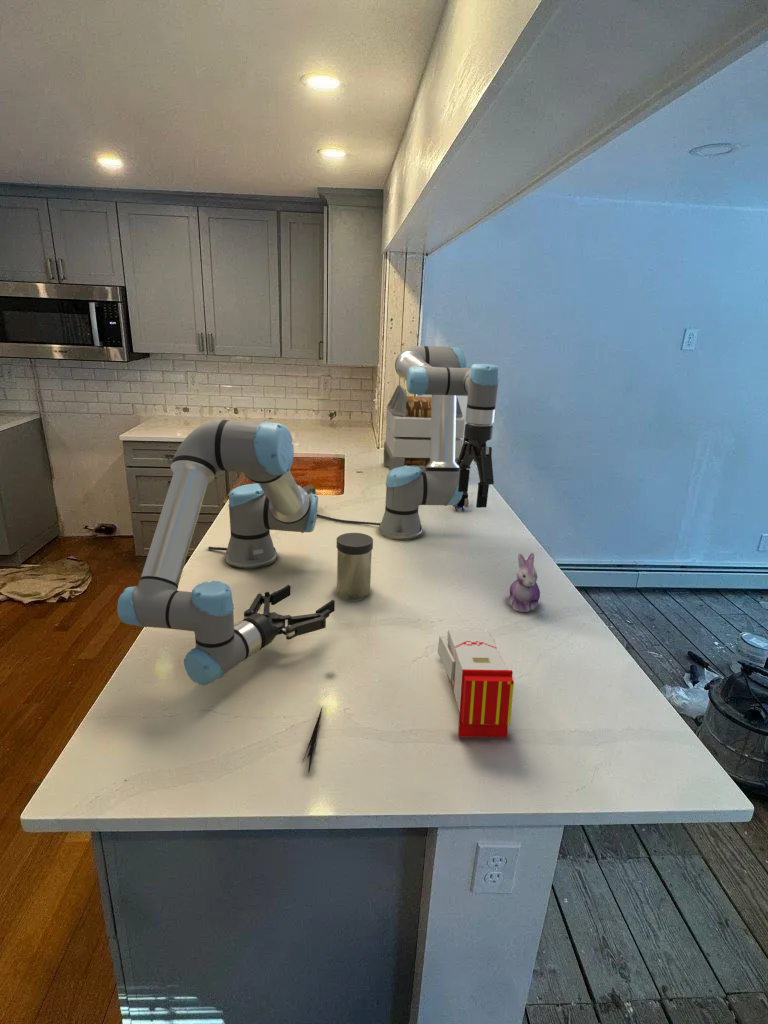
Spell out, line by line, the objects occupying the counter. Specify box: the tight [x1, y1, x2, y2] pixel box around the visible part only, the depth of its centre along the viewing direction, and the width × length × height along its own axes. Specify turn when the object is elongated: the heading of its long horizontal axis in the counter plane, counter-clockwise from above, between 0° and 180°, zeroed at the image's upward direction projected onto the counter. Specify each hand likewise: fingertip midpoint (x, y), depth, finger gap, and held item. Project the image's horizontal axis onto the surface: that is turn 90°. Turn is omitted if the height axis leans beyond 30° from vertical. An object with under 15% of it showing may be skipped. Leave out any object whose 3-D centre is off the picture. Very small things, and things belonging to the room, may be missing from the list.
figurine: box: [508, 552, 541, 613], centre depth 152 cm, size 9×10×15 cm
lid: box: [335, 532, 374, 554], centre depth 153 cm, size 10×10×2 cm
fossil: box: [299, 484, 317, 495], centre depth 215 cm, size 22×10×15 cm
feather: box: [301, 673, 332, 771], centre depth 108 cm, size 2×28×2 cm
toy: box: [437, 628, 515, 738], centre depth 117 cm, size 12×13×30 cm
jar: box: [336, 548, 373, 601], centre depth 155 cm, size 9×9×16 cm
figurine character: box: [451, 492, 470, 512], centre depth 229 cm, size 7×8×15 cm
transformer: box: [383, 384, 466, 472], centre depth 268 cm, size 34×33×41 cm
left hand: (311, 597), depth 140 cm, fingers open, 13 cm apart
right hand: (471, 499), depth 159 cm, fingers open, 13 cm apart
